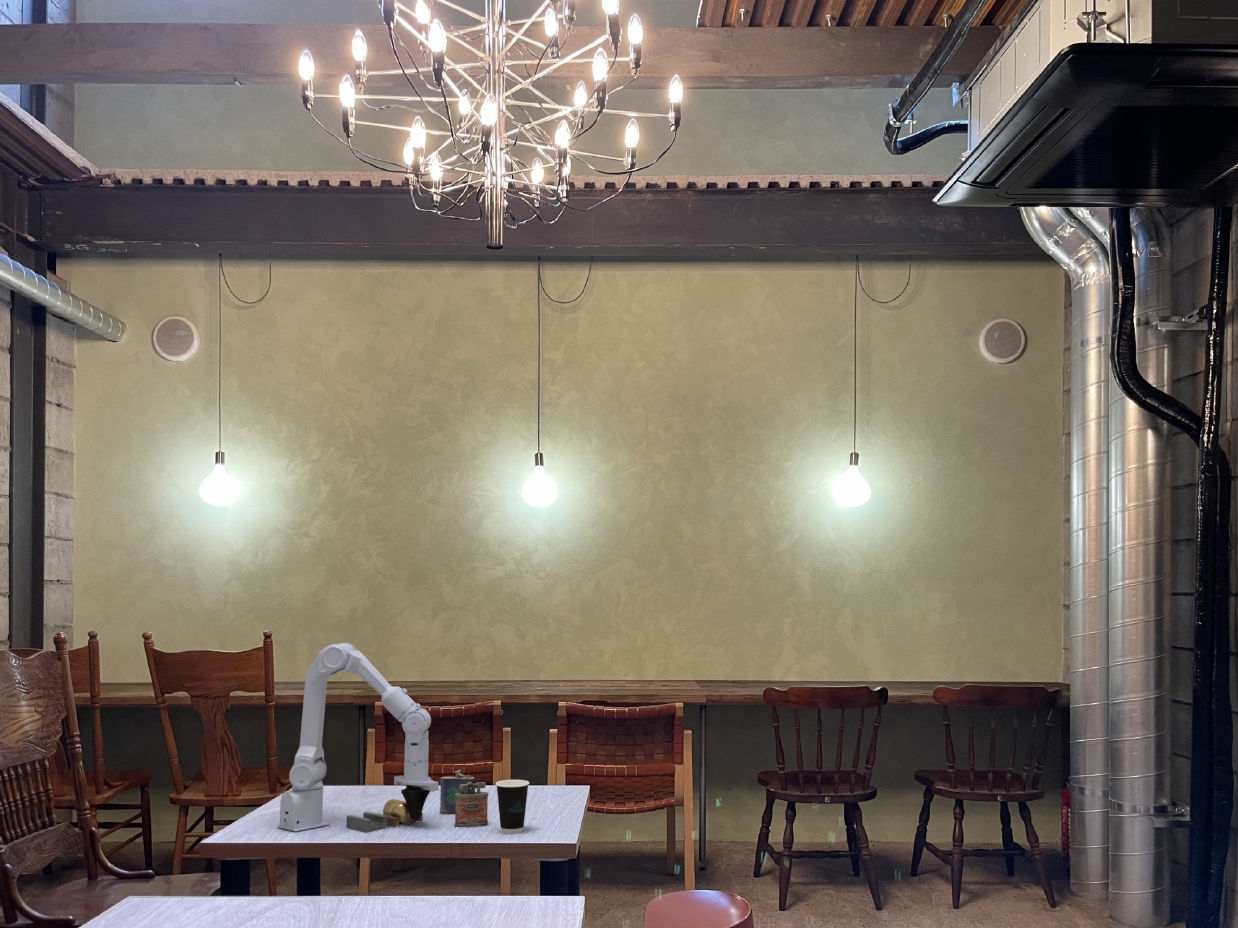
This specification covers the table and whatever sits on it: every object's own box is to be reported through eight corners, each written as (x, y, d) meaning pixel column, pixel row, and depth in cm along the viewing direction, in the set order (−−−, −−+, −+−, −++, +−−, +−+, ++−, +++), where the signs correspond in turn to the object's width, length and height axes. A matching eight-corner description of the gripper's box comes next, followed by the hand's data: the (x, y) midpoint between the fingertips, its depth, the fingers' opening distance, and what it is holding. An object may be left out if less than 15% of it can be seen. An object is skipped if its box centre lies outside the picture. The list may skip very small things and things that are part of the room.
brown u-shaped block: (394, 827, 239) (394, 818, 240) (374, 822, 244) (374, 814, 245) (422, 821, 246) (422, 812, 246) (402, 816, 251) (402, 808, 251)
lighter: (455, 828, 238) (455, 784, 239) (453, 825, 241) (454, 782, 243) (489, 825, 240) (489, 782, 241) (487, 822, 243) (487, 780, 245)
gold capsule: (415, 824, 245) (419, 802, 246) (399, 823, 241) (402, 801, 242) (397, 820, 249) (401, 799, 250) (381, 819, 246) (385, 798, 247)
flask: (438, 814, 254) (439, 770, 255) (442, 811, 257) (443, 768, 258) (473, 815, 252) (474, 771, 253) (477, 812, 255) (477, 769, 256)
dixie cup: (516, 836, 229) (516, 786, 231) (488, 832, 233) (488, 783, 234) (535, 829, 236) (535, 781, 238) (507, 825, 240) (508, 778, 241)
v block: (366, 832, 234) (366, 820, 235) (346, 827, 240) (346, 815, 240) (387, 827, 239) (387, 815, 239) (367, 822, 244) (367, 811, 244)
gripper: (448, 761, 241) (447, 819, 240) (410, 755, 251) (409, 811, 249) (425, 765, 236) (424, 825, 234) (387, 759, 245) (386, 816, 243)
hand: (415, 818), depth 241 cm, fingers closed
